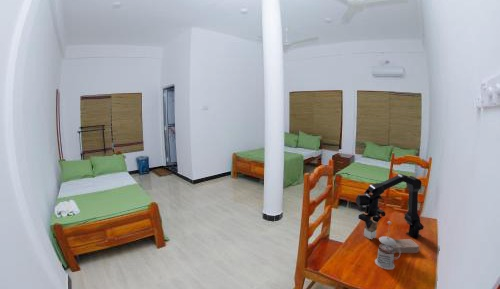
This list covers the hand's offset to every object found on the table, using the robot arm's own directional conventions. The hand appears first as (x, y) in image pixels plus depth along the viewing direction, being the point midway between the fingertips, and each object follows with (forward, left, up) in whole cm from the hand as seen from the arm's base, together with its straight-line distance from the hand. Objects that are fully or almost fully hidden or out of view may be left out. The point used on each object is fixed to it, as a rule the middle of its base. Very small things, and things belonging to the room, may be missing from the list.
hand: (370, 227), depth 167 cm
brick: (-5, +18, -7) cm, 20 cm away
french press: (+16, +23, -7) cm, 28 cm away
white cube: (0, 0, -7) cm, 7 cm away
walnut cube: (0, 0, -1) cm, 1 cm away
